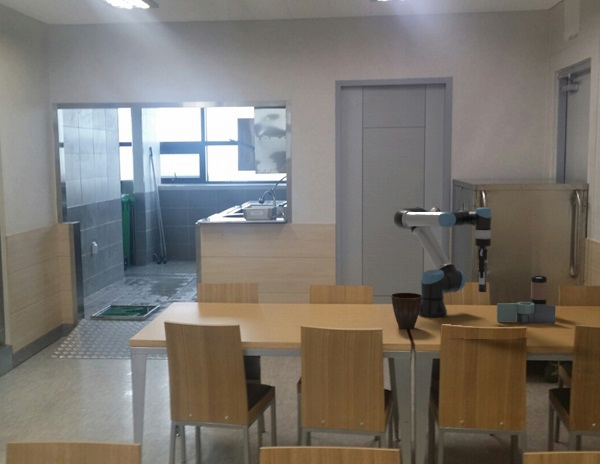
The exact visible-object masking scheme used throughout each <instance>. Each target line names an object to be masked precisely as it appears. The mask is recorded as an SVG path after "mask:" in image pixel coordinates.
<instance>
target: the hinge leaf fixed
mask: <svg viewBox="0 0 600 464" xmlns="http://www.w3.org/2000/svg"><path fill="white" fill-rule="evenodd" d="M556 307H557V306H556V304H546V305H544V304H535V313H533V314H520V313H517V315H516V323H519V324H525V325H526V324H527V325H530V324H548V325H555V324H556Z"/></svg>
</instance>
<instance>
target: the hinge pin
mask: <svg viewBox="0 0 600 464" xmlns="http://www.w3.org/2000/svg"><path fill="white" fill-rule="evenodd" d="M477 263H478V264H479V259H477ZM488 263H489V260H488V259H487V260H485V269H484V270H485V271H484V272H485V284H479V282H478V292H479V293H487V285H488V283H487V279H488V278H487V276H488V275H487V274H488V273H487V272H488V270H487V268H488Z"/></svg>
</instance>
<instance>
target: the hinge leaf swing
mask: <svg viewBox="0 0 600 464" xmlns="http://www.w3.org/2000/svg"><path fill="white" fill-rule="evenodd" d="M517 313H520V314H533V313H535V304H534V303H531V301H519V302H515V303H512V302H511V303H509V302H507V303H496V322H497V323H498V322H501V323H502V322H503V323H504V322H505V323H507V322H508V323H509V322H511V323H512V322H516V323H517Z"/></svg>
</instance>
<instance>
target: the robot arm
mask: <svg viewBox="0 0 600 464" xmlns="http://www.w3.org/2000/svg"><path fill="white" fill-rule="evenodd" d="M393 223H394V224H395V226H397V228H398V229H402V230H410V231H411V233H412V234H413V235H414V236H417V238H418V240H419V242H420V244H421V246H422V248H423V249H424V252H425V253H426V255H427V256H428V259H429V261H430V262H431V264H432V266H433V268H434V269H429V270H426V271H423V272H422V274H421V280H420V283H421V285H420V287H421V288H420V289H421V290H420V291H421V294H420V295H422V301H421V307H420V311H419V315H418V317H422V318H423V317H424V318H432V319H434V318H435V319H436V318H437V319H438V318H444V317H447V316H448V309H447V307H446V303H445V300H444V299H445V294H449V293H450V294H452V293H457V292H459V291H462V290H463V288H464V287H465V285H466V282H467V281H466V280H467V278H466V274H465V273H464V272H463V271H462V270H461V269H457V268H456V266H455V264H454V263H451V262H450V261H449V259H448V257H447V255H446V253H445V251H444V250H443V248H442V246H441V245H440V242H439V241H438V239H437V237H436V235H435V234H434V232H433V230H432V229H431V228H432V227H443V228H451V227H452V228H453V227H464V226H474V227H475V246H476V247H479V249H478V260H479V263H478V270H477V272H478V283H479V284H485V272H484V271H485V270H484V269H485V260H488V257H487V256H488V248H487V247H491V245H492V244H491V243H492V242H491V241H492V239H491V238H492V234H493V231H492V227H491V226H492V209H491V208H490V207H476V209H475V211H474V210H468V209H467V210H466V209H465V210H464V209H462V210H459V211H430V210H428V209H427V208H425V207H419V206H417V207H408V208H407V207H406V208H400V209H398V210H397V211H396V212H395V214H394V216H393ZM487 271H488V267H487Z"/></svg>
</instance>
